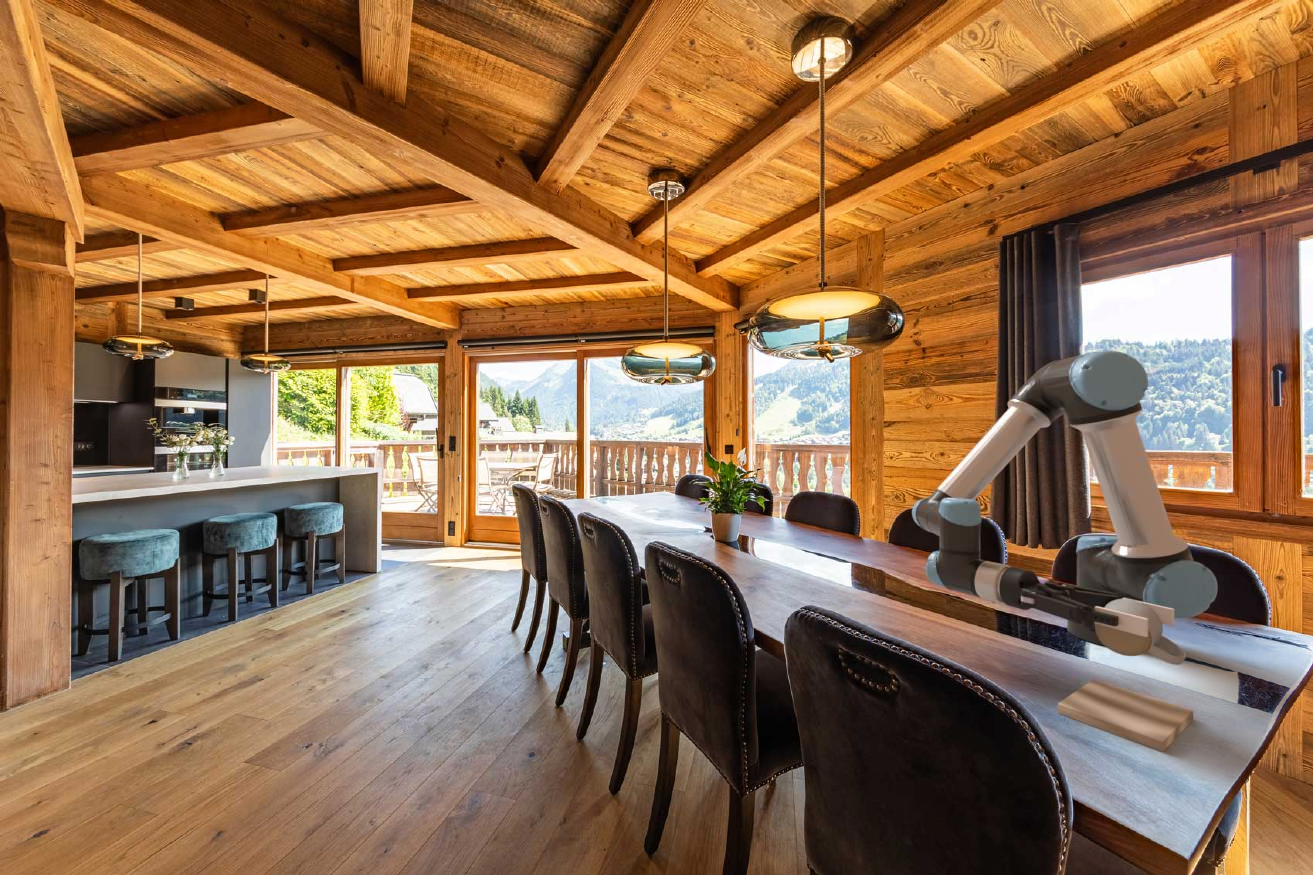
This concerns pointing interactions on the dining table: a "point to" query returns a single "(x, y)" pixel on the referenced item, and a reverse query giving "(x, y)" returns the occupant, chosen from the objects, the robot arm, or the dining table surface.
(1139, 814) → the dining table surface
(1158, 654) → the ceramic mug
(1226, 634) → the dining table surface
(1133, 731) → the birch board
